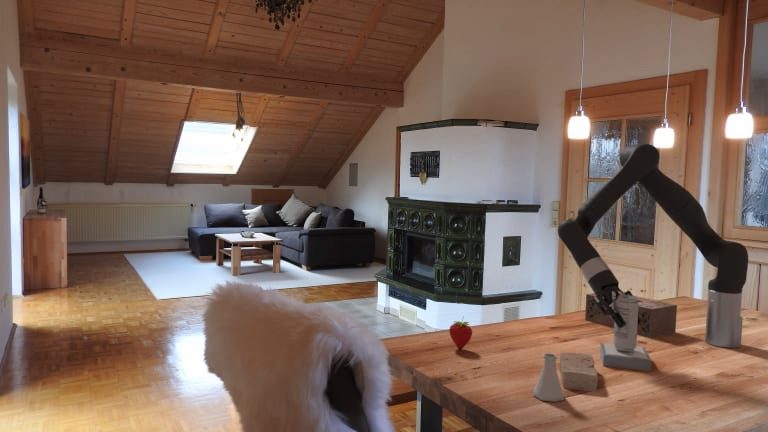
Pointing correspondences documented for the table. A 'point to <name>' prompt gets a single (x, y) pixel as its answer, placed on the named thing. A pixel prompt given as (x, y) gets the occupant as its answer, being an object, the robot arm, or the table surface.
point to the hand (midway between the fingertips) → (631, 324)
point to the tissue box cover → (652, 313)
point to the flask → (549, 381)
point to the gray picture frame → (625, 358)
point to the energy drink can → (628, 333)
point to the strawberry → (460, 333)
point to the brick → (578, 371)
